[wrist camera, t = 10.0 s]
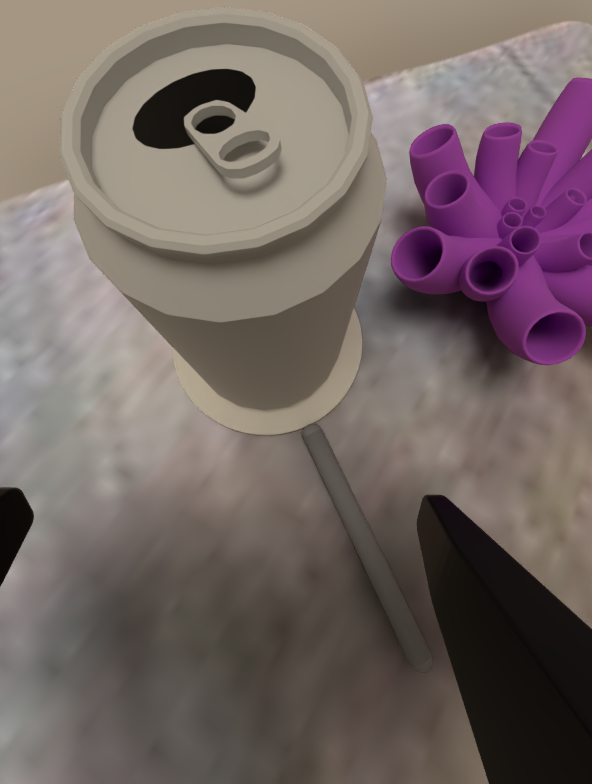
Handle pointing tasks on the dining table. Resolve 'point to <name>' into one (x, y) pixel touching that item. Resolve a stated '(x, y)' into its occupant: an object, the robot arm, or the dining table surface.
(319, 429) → the thin grey rod
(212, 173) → the can
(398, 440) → the dining table surface
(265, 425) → the disc
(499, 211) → the purple tube coral sculpture
